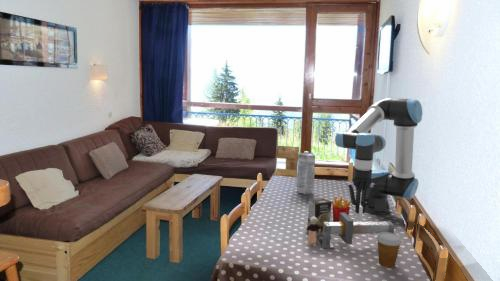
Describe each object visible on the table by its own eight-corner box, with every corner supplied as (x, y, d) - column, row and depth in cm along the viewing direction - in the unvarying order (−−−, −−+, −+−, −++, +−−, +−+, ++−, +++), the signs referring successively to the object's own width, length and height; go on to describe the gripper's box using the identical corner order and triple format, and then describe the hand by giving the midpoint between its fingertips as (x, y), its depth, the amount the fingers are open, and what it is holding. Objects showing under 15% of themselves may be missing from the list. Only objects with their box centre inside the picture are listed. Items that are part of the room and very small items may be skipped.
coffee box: (314, 237, 186) (316, 203, 183) (306, 232, 192) (308, 199, 189) (329, 234, 190) (332, 201, 188) (321, 229, 196) (323, 197, 193)
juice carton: (313, 195, 252) (316, 153, 248) (297, 194, 252) (299, 152, 248) (311, 191, 261) (314, 150, 257) (295, 190, 261) (297, 150, 257)
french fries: (337, 221, 207) (339, 193, 205) (351, 225, 202) (354, 197, 199) (328, 225, 201) (330, 196, 199) (342, 230, 195) (344, 200, 193)
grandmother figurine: (308, 246, 175) (309, 219, 173) (303, 243, 178) (304, 216, 176) (322, 243, 179) (323, 216, 177) (316, 240, 182) (318, 214, 180)
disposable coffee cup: (370, 259, 165) (373, 231, 163) (392, 258, 166) (395, 231, 164) (380, 270, 156) (382, 241, 154) (403, 269, 157) (406, 241, 155)
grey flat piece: (343, 234, 183) (345, 212, 181) (351, 244, 173) (353, 221, 171) (338, 234, 183) (339, 212, 181) (346, 244, 172) (348, 221, 171)
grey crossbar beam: (389, 240, 185) (391, 219, 183) (397, 247, 177) (399, 226, 175) (317, 241, 181) (319, 220, 179) (323, 249, 173) (324, 227, 171)
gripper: (373, 166, 178) (369, 216, 182) (345, 166, 176) (342, 217, 180) (381, 170, 170) (376, 223, 174) (351, 170, 169) (347, 223, 173)
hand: (359, 220), depth 177 cm, fingers closed
